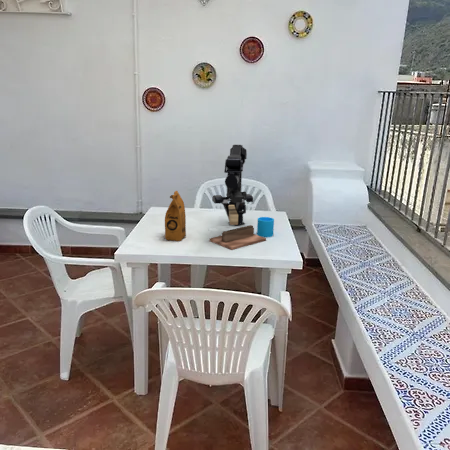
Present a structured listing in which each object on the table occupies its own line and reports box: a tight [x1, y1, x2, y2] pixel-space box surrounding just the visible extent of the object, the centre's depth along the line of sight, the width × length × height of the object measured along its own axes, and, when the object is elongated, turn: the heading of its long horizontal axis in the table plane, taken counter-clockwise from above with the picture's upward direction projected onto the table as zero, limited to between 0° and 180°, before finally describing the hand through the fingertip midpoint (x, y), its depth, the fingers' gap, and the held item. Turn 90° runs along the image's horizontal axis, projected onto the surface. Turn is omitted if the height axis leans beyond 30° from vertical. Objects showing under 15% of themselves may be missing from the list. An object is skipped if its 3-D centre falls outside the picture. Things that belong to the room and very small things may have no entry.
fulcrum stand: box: [209, 224, 267, 251], centre depth 211 cm, size 16×22×6 cm
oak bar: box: [227, 205, 239, 226], centre depth 211 cm, size 20×4×4 cm, turn 4°
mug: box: [256, 216, 275, 238], centre depth 222 cm, size 12×8×8 cm
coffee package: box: [164, 190, 187, 242], centre depth 211 cm, size 10×12×22 cm
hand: (232, 216), depth 211 cm, fingers closed on oak bar, 4 cm apart
